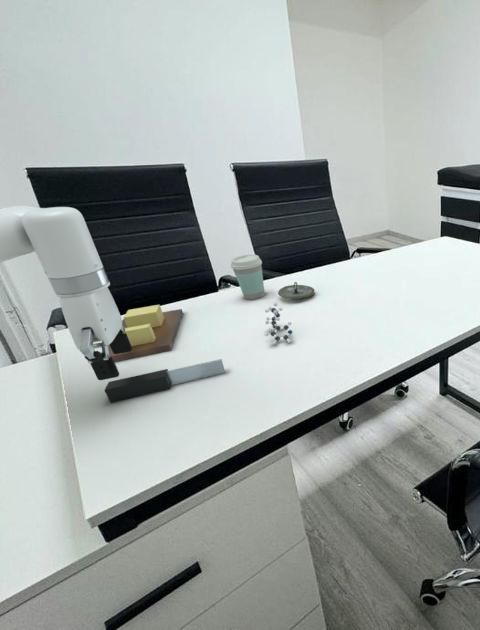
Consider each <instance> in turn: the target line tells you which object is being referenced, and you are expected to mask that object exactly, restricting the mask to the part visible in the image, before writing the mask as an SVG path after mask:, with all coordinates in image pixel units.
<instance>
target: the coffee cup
mask: <svg viewBox="0 0 480 630" xmlns="http://www.w3.org/2000/svg"><path fill="white" fill-rule="evenodd" d="M262 264H263V261H262V259H261V257H260V256H259V255H257V254H245V255H244V254H243V255H240V256H236V257H234V258H232V259H231V264H230V269H232V270H233V273H234V276H235V278H236V280H237V283H238V285H239V288H240V290H241V292H242V295H243V297H244V299H245V300H248V301H249V300H251V301H252V300H258V299H261V298H263V297H264V296H265V285H264V275H263V267H262Z"/></svg>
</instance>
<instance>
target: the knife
mask: <svg viewBox="0 0 480 630" xmlns="http://www.w3.org/2000/svg"><path fill="white" fill-rule="evenodd" d="M222 374H226V369H225V366H224V363H223V359H222V358H220V359H214V360H211V361H206V362H202V363H201V362H200V363H196V364H193V365H187V366H184V367H179V368H175V369H171V370H169V369H168V368H165V369H160V370H157V371H156V370H155V371H152V372H147V373H143V374H138V375H134V376H133V375H132V376H130V377H124V378H120V379H116V380H111V381H108V382H107V384H106V386H105V388H104V393H105V394H106V397H107V399H108V401H109V402H110V404H112V403H115V402H121V401H125V400H130V399H133V398H137V397H142V396H146V395H150V394H154V393H158V392H163V391H167V390H171V388H172V386H175V385H179V384H182V383H183V384H184V383H187V382H191V381H196V380H200V379H201V380H202V379H204V378H208V377H213V376H217V375H222Z"/></svg>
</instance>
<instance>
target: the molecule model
mask: <svg viewBox="0 0 480 630" xmlns="http://www.w3.org/2000/svg"><path fill="white" fill-rule="evenodd" d="M277 306H278V303H277V302H274V303H273V307H272V306H269V307H268V308H266V309H264V312H265V313H269V312H271V313H273V315H274V316H272V317H269V316H267V317H266V318H265V319H266V321H265V322H264V323H265V325H269V324H271V326H272V327H271V328H269V329H268V332H264V336H265V337H268V336H269V335H270V336H271V337H274V341H273V340H272V342H271V345H273V346H275V345H276V344H277V343H276V342H279V341H280V340H284V341H287V343H288V344H291V343H292V340H291V339H289V336H290V335H293V330H292V329H290V326H291V325H292V321H288V322H287V324H285V325H283V326H280V325H278V324H277V322H279V321H281V318H280V317H281V313H280V312H279V311H281V312H282V311H283V309H284V308H283V307H281V306H280V307H278V309H277V308H276V307H277ZM270 320H271V321H270ZM283 330H285V331H287V334H285V335H283V336H279V335H277V331H283Z"/></svg>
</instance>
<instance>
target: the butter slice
mask: <svg viewBox="0 0 480 630" xmlns="http://www.w3.org/2000/svg"><path fill="white" fill-rule="evenodd" d="M125 333H126V334H127V336H128V339H129V341H130V344H131V346H136V345H141V344H146V343H151V342H154V341H155V339H156V337H155V335H154V332H153V329H152V327H151V324H145V325H140V326H135V327H129V328H125Z"/></svg>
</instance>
